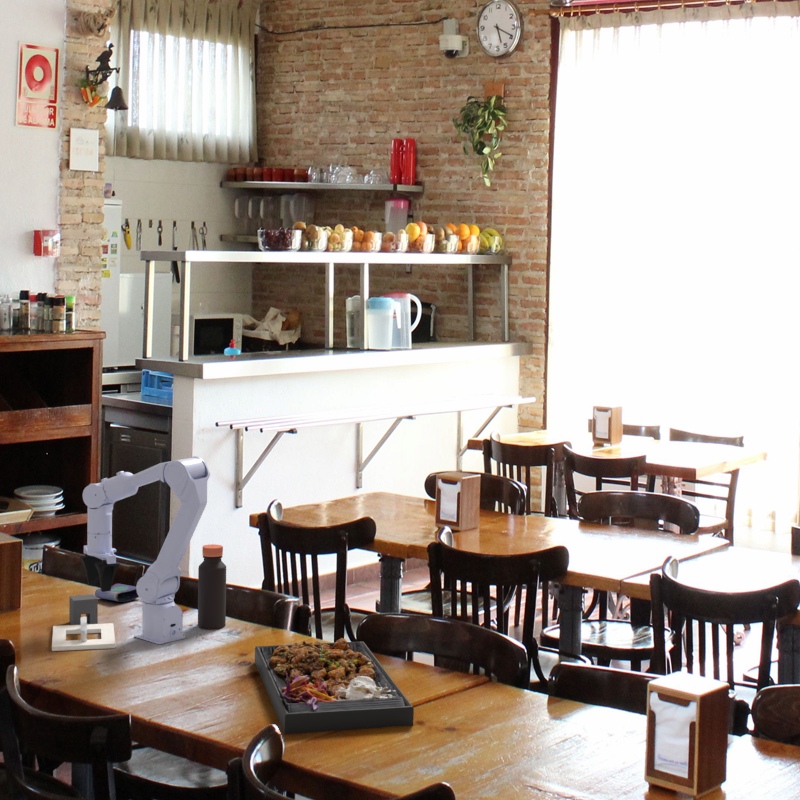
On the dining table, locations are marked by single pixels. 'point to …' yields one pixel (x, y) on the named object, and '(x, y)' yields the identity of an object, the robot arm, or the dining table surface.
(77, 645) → the cream frame with handle
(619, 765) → the dining table surface
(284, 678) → the food platter
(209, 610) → the bottle
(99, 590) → the blue flat box
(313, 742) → the dining table surface
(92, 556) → the robot arm
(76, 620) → the notched grey block
